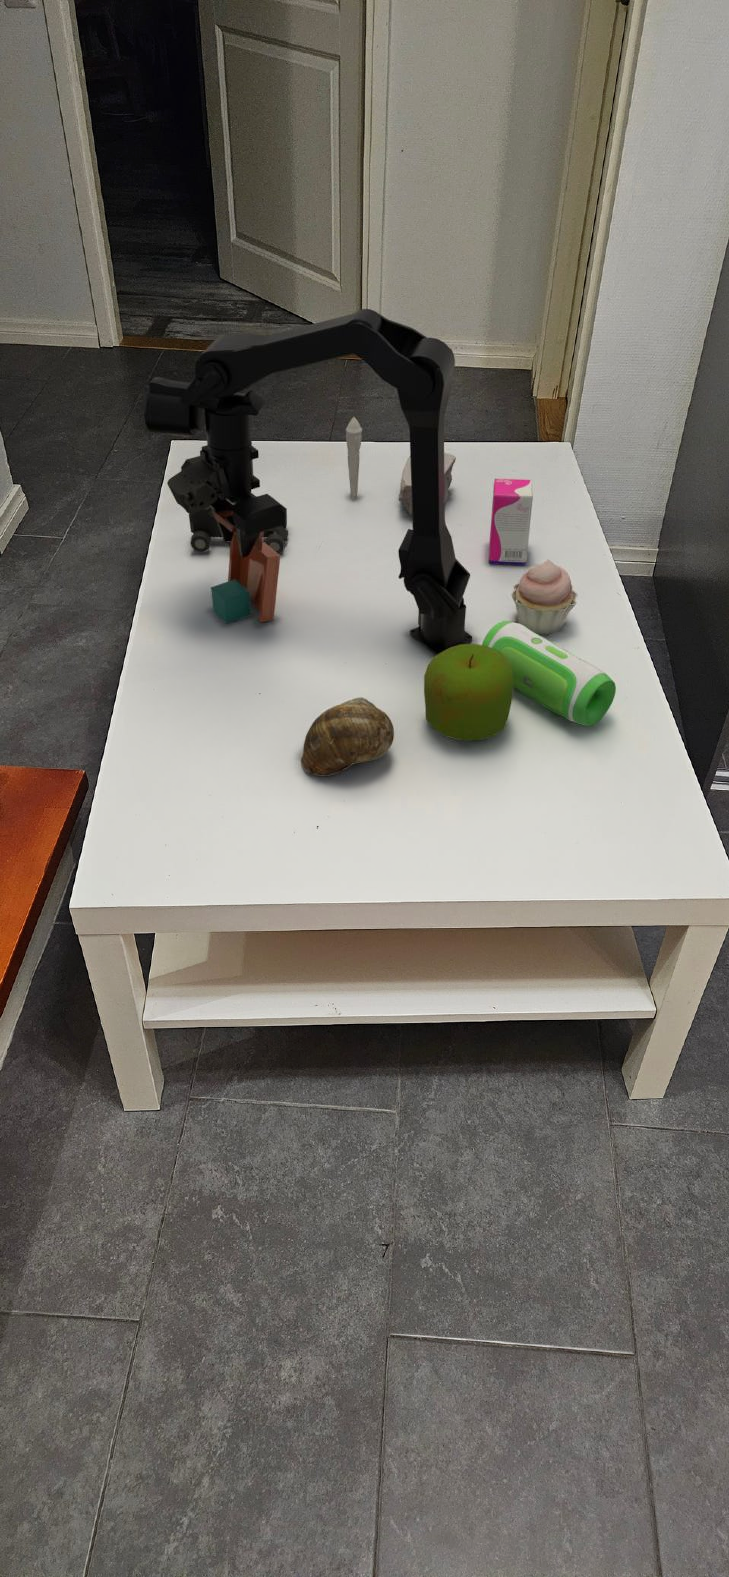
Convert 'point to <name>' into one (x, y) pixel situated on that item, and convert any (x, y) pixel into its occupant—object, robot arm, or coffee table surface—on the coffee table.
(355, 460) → the grey pointed rod
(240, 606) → the block
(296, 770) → the coffee table surface
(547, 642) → the speaker
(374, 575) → the coffee table surface
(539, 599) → the cupcake
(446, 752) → the coffee table surface
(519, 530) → the supplement box
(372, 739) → the seashell
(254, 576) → the orange handled tray
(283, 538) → the toy vehicle
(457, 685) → the apple
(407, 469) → the decorative stone
